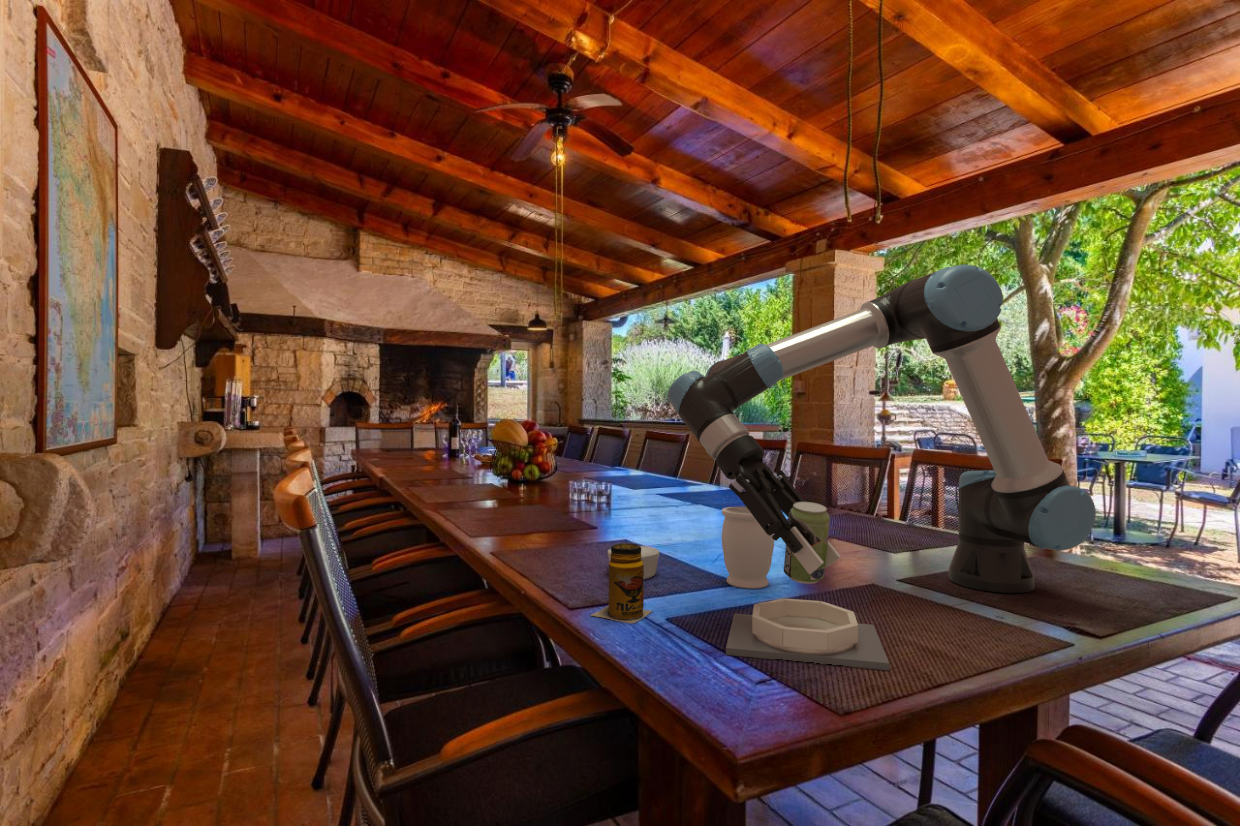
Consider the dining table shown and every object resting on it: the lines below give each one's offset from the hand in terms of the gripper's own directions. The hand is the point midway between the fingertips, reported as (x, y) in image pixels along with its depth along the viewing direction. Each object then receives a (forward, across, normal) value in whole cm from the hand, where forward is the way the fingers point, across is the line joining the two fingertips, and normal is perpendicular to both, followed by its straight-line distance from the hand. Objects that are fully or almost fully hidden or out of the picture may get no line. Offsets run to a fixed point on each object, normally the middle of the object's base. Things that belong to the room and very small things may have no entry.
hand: (825, 564), depth 95 cm
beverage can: (0, -1, -5) cm, 5 cm away
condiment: (-14, +10, -32) cm, 36 cm away
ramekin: (-25, -11, -44) cm, 52 cm away
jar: (-11, -22, -28) cm, 38 cm away
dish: (+6, 0, -11) cm, 12 cm away
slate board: (+6, 0, -11) cm, 13 cm away
